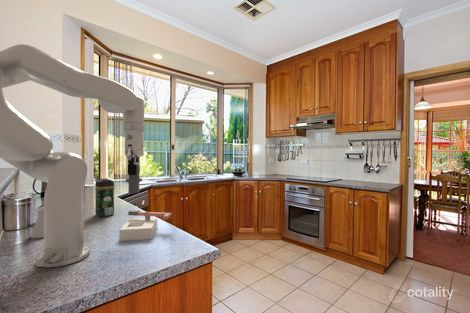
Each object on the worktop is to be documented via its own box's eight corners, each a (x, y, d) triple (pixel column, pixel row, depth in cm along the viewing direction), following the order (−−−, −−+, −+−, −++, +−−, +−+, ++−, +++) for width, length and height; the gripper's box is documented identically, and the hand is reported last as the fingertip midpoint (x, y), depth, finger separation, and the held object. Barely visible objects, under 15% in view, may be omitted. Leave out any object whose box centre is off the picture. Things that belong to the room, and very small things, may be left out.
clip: (123, 217, 91) (123, 213, 91) (131, 213, 96) (131, 210, 96) (166, 219, 89) (166, 215, 89) (172, 215, 94) (172, 211, 94)
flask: (40, 240, 82) (40, 212, 82) (24, 238, 83) (24, 211, 83) (59, 233, 89) (59, 207, 89) (44, 231, 90) (44, 206, 90)
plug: (139, 193, 87) (139, 162, 87) (123, 193, 86) (123, 162, 86) (143, 190, 93) (143, 161, 93) (128, 191, 92) (128, 161, 92)
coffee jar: (93, 214, 117) (93, 178, 117) (110, 211, 122) (110, 177, 122) (98, 218, 110) (98, 179, 109) (115, 215, 115) (116, 178, 115)
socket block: (151, 238, 84) (151, 223, 84) (119, 240, 82) (119, 225, 81) (157, 226, 97) (157, 213, 97) (129, 228, 95) (129, 214, 95)
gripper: (138, 125, 82) (138, 176, 82) (148, 130, 98) (148, 172, 99) (116, 125, 81) (116, 176, 81) (130, 130, 97) (130, 172, 98)
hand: (133, 173), depth 90 cm, fingers closed on plug, 4 cm apart
